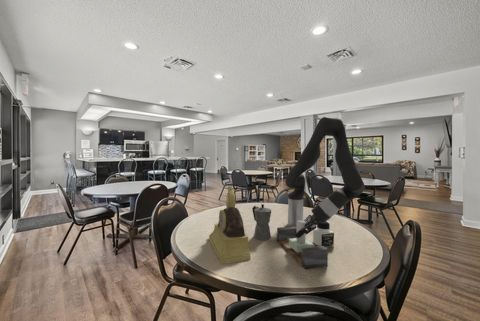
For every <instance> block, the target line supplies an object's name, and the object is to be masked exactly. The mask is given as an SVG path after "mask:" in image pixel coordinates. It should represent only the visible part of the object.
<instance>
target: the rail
mask: <svg viewBox="0 0 480 321" xmlns="http://www.w3.org/2000/svg"><path fill="white" fill-rule="evenodd" d="M296 229H297V228H296V227H295V226H293V227H290V226H282V227H281V226H279V227H276V241H277V242H278V244H279V245H281V247H283V249H284V250H285V251H287V253H289V255H290V256H291V257H292V258H293V259H294V260H296V262H298V264H299V265H301V267H302V268H304V269H305V270H309V269H315V268H316V269H317V268H318V269H319V268H323V267H324V268H326V267H328V266H329V265H328V262H329V260H328V258H329V256H328V255H329V249H328V247H326V248H325V247H324V246H314V247H310V248H302V252H299V253H297V252H296V251H295V250H294V249H293V248H291V247H290V246H289V239H292V238H296V236H295V234H296V232H295V230H296Z"/></svg>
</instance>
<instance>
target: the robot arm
mask: <svg viewBox="0 0 480 321" xmlns="http://www.w3.org/2000/svg"><path fill="white" fill-rule="evenodd" d="M325 137H333V139H334V140H335V143H336V146H335V147H336V148H335V152H334V160H335V163H336V165H337V167H338V170H339V172H340V174H341V179H342V182H343V184H344V185H343V186H342V187H341V188H340V189H337V190H334V191H332V192H331V193H330V194H329V195H328V196H327V197H326V198H323V199H322V200H321V201H320V202H319V203H318V204H316V205H315V206H314V207H313V208H312V209H311V213H312V214H309V215H308V216H307V217H305V219H304V196H305V189H306V177H305V175H304V173H306V172H307V171H308V170H310V169H311V168H313V167H314V166H315V164H316V163H317V162H318V160H319V159H320V157H321V143H322V141H323V139H324V138H325ZM354 159H355V158H354V157H353V156H352V153H351V150H350V147H349V143H348V138H347V132H346V129H345V125H344V123H343V121H342V119H340V118H338V117H333V116H332V117H331V116H323V117H321V118H320V119H319V120H318V122H317V124H316V126H315V128H314V130H313V132H312V135H311V137H310V138H309V141H308V142H307V144H306V146H305V148H304V149H303V151H302V152H301V154H300V156H299V158H298V159H297V161H296V162H295V164H294V166H292V168H291V170H290V171H289V172H288V173H287V175H286V176H285V181H284V182H285V185H286V187H287V188H289V189H294V190H293V191H291V192H289V193H288V194H287V195H288V198H287V199H288V200H287V201H288V202H287V203H288V204H287V205H288V206H287V208H288V209H287V227H293V226H295V227H296V228H297V221H299V220H301V221H305V222H306V223H305V224H304V227H303V228H301V229H300V230H299V231H298V232H297V233H296V234H295V236H296V237H297V238H300V237H301V236H302V235H303V234H306V235H308V234H310V233H311V232H312V231H313V230H314V229H317V223H318V222H319V221H321V223H325V222H326V221H329V220H330V219H331V218H332V217H333V216H335V215H336V214H337V213H338V211H340V210H341V209H342V208H343V207H344V206H346V205H347V203H349V202H351V201H352V200H354V199H356V198H357V197H359V196H360V195H361V194H362V193H364V191H365V187H366V185H365V182H364V181H363V178H362V177H361V174H360V172H359V171H358V168H357V164H356V162H355V160H354ZM296 231H297V229H296V230H295V232H296Z"/></svg>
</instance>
